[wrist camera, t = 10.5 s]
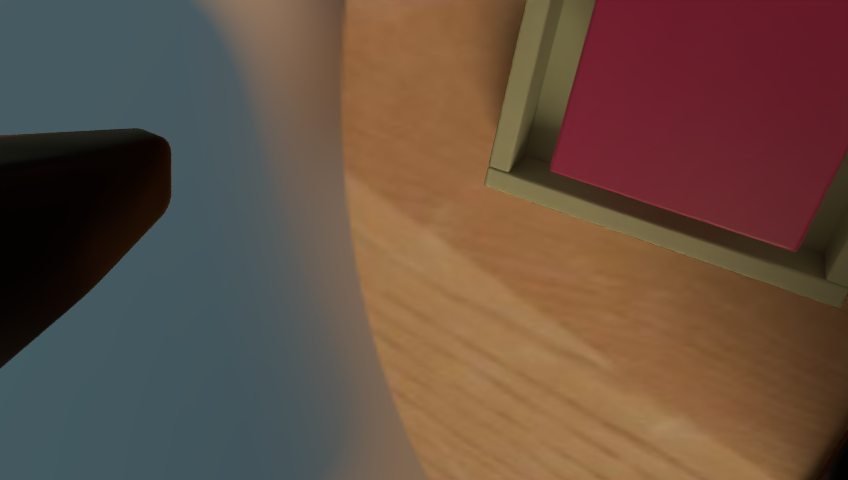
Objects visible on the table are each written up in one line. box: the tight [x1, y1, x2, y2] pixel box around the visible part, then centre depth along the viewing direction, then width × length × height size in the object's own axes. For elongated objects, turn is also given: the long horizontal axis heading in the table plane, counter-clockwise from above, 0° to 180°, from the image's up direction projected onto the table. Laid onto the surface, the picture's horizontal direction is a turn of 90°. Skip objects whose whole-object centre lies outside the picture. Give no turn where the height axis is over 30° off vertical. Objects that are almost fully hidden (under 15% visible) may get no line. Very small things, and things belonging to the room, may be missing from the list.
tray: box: [485, 0, 848, 308], centre depth 18 cm, size 10×9×2 cm
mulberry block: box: [550, 0, 848, 252], centre depth 16 cm, size 5×5×5 cm
